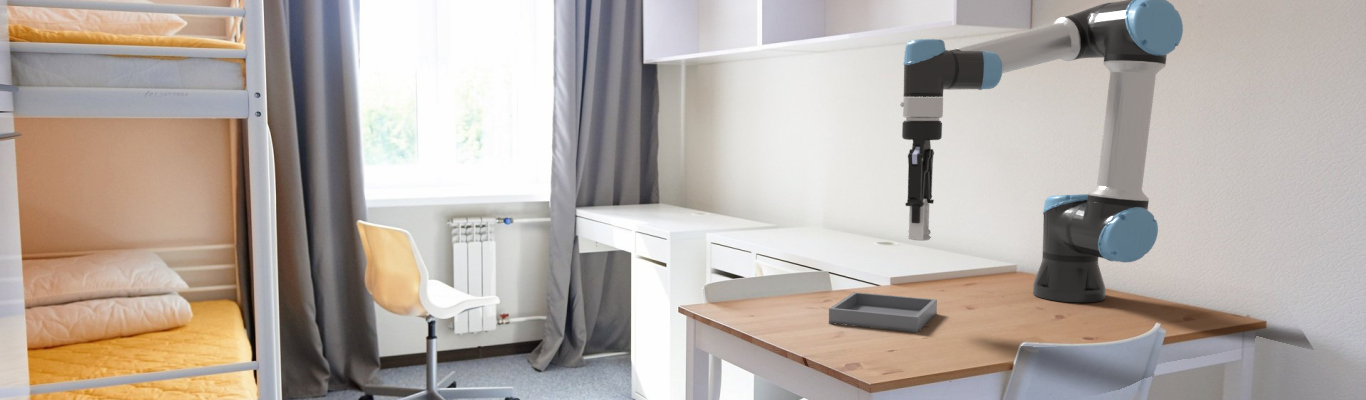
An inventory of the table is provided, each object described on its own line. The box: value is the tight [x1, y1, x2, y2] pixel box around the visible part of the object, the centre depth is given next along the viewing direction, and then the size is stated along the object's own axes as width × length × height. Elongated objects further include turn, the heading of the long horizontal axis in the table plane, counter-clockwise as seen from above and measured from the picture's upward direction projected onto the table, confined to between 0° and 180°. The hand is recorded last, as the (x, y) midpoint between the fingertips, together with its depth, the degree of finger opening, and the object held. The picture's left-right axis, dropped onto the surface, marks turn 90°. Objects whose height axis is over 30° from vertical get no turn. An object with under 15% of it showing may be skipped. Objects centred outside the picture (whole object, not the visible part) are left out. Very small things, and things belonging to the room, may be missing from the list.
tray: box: [828, 291, 938, 333], centre depth 191 cm, size 18×18×3 cm
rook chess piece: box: [907, 199, 932, 242], centre depth 186 cm, size 4×4×8 cm
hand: (918, 237), depth 186 cm, fingers closed on rook chess piece, 4 cm apart
